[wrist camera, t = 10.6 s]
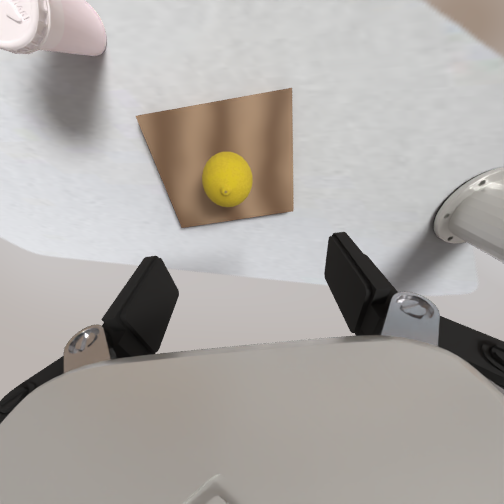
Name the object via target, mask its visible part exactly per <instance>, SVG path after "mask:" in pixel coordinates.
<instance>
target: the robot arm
mask: <svg viewBox="0 0 504 504" xmlns="http://www.w3.org/2000/svg"><path fill="white" fill-rule="evenodd" d="M434 232H435V234H436V235H437V236H438V237H439V238H440V239H442V240H443V241H445V242H448V243H465V242H468V243H469V244H471V245H473V246H475V247H476V248H478V249H480V250H481V251H483V252H485V253H487V254H488V255H490V256H492V257H494V258H495V259H497V260H499V261H501V262H502V263H504V167H502V168H497V169H493V170H490V171H487V172H485V173H483V174H481V175H478V176H477V177H475V178H473V179H471V180H470V181H468V182H467V183H465V184H464V185H462V186H461V187H460V188H459V189H457V190H456V191H455V192H454V193H453V194H452V195H451V196H450V197H449V198H448V199H447V200H446V201H445V202H444V204H443V205H442V207H441V208H440V210H439V211H438V213H437V215H436V218H435V221H434ZM325 279H326V281H327V283H328V285H329V287H330V290H331V292H332V294H333V296H334V298H335V300H336V302H337V304H338V306H339V309H340V311H341V313H342V315H343V317H344V319H345V321H346V323H347V325H348V327H349V329H350V331H351V332H352V333H355V335H356V336H346V337H333V338H319V339H308V340H297V341H287V342H275V343H264V344H253V345H243V346H232V347H222V348H212V349H201V350H191V351H181V352H172V353H161V354H155V352H157V351H158V350H159V348H160V345H161V342H162V339H163V337H164V334H165V331H166V329H167V326H168V323H169V321H170V318H171V315H172V312H173V310H174V307H175V304H176V301H177V299H178V296H179V291H178V289H177V287H176V285H175V283H174V281H173V279H172V277H171V276H170V274H169V272H168V270H167V268H166V266H165V264H164V263H163V261H162V259H161V258H158V257H157V256H151V257H145V258H144V259H143V261H142V262H141V264H140V265H139V266H138V268H137V269H136V271H135V272H134V274H133V275H132V277H131V278H130V279H129V281H128V282H127V284H126V285H125V286H124V288H123V289H122V291H121V292H120V294H119V295H118V297H117V298H116V299H115V301H114V302H113V304H112V305H111V307H110V308H109V309H108V311H107V312H106V314H105V315H104V317H103V318H102V321H104V324H103V325H102V326H101V325H91V326H88V327H86V328H84V329H82V330H81V331H79V332H78V333H77V334H75V335H74V336H73V337H72V338H71V339H70V340H69V342H68V343H67V345H66V346H65V349H64V356H63V357H61V358H60V359H58V360H57V361H55V362H54V363H52V364H51V365H49V366H47V367H46V368H44V369H43V370H41V371H40V372H38V373H37V374H35V375H34V376H32V377H31V378H29V379H28V380H26V381H25V382H23V383H22V384H20V385H19V386H17V387H16V388H14V390H12V391H10V392H9V393H8V394H7V395H6V396H5V397H4V398H3V399H2V400H1V401H0V504H504V342H503V341H501V340H498V339H496V338H493V337H491V336H488V335H486V334H483V333H481V332H479V331H476V330H474V329H471V328H469V327H466V326H464V325H461V324H459V323H456V322H454V321H451V320H449V319H447V318H444V317H442V316H440V314H439V310H438V308H437V307H436V305H435V304H433V303H432V302H431V301H430V300H429V299H427V298H425V297H424V296H421V295H419V294H416V293H412V292H397V290H396V289H395V288H394V287H393V286H392V285H391V283H390V282H389V281H388V280H387V279H386V277H385V276H384V275H383V274H382V273H381V272H380V270H379V269H378V268H377V267H376V266H375V265H374V263H373V262H372V261H371V260H370V259H369V257H368V256H367V255H365V254H363V253H362V251H361V250H360V249H359V248H358V247H357V245H356V244H355V243H354V242H353V241H352V239H351V238H350V237H349V236H348V235H347V233H346V232H339V233H333V235H332V236H330V237H329V241H328V249H327V257H326V265H325Z"/></svg>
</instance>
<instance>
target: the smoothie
mask: <svg viewBox="0 0 504 504" xmlns="http://www.w3.org/2000/svg"><path fill="white" fill-rule="evenodd" d="M106 43H107V37H106V31H105V28H104V25H103V23H102V20H101V19H100V17H99V15H98V14H97V12H96V11H95V10H94V8H93V7H92V6H91V5H90V4H89V3H88V2H87V1H86V0H0V49H3V50H6V51H9V52H12V53H15V54H30V53H33V52H35V51H37V50H44V51H53V52H62V53H70V54H79V55H88V56H98V55H100V54H102V53H103V52H104V50H105V48H106Z"/></svg>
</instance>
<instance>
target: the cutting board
mask: <svg viewBox="0 0 504 504" xmlns="http://www.w3.org/2000/svg"><path fill="white" fill-rule="evenodd" d="M136 118H137V120H138V123H139V125H140V128H141V130H142V133H143V135H144V137H145V140H146V142H147V145H148V147H149V149H150V152H151V154H152V157H153V159H154V162H155V164H156V166H157V169H158V171H159V174H160V176H161V179H162V181H163V183H164V186H165V188H166V191H167V193H168V195H169V198H170V200H171V203H172V205H173V208H174V210H175V212H176V215H177V217H178V220H179V222H180V224H181V227H182V228H185V227H191V226H198V225H204V224H211V223H218V222H224V221H231V220H238V219H244V218H251V217H257V216H264V215H271V214H277V213H284V212H291V211H293V130H292V88H288V89H283V90H277V91H272V92H266V93H261V94H255V95H250V96H244V97H238V98H233V99H227V100H222V101H216V102H211V103H205V104H199V105H194V106H188V107H183V108H177V109H172V110H166V111H161V112H155V113H149V114H144V115H138V116H136ZM220 152H233V153H236V154H238V155H240V156H241V157H243V159H244V160H245V161H246V162H247V163H248V165H249V167H250V169H251V172H252V179H253V183H252V188H251V191H250V193H249V195H248V197H247V198H246V199H245V200H244V201H243V202H242V203H240V204H239V205H236V206H234V207H222V206H220V205H217V204H216V203H214V202H213V201H211V199H210V198H209V197H208V196H207V194H206V193H205V191H204V187H203V184H202V174H203V169H204V167H205V165H206V163H207V161H208V160H209V159H210V158H211V157H212V156H214V155H215V154H217V153H220Z"/></svg>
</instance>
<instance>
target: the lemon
mask: <svg viewBox="0 0 504 504" xmlns="http://www.w3.org/2000/svg"><path fill="white" fill-rule="evenodd" d="M252 183H253V179H252V172H251V169H250V167H249V165H248V163H247V162H246V161H245V160H244V159H243V157H241V156H240V155H238V154H236V153H233V152H220V153H217V154H215V155H214V156H212V157H211V158H210V159H209V160H208V161H207V163H206V165H205V167H204V169H203V174H202V184H203V187H204V191H205V193H206V194H207V196H208V197H209V198H210V199H211V201H213V202H214V203H216V204H217V205H220V206H222V207H234V206H236V205H239V204H240V203H242V202H243V201H244V200H245V199H246V198H247V197H248V195H249V193H250V191H251V188H252Z"/></svg>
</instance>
